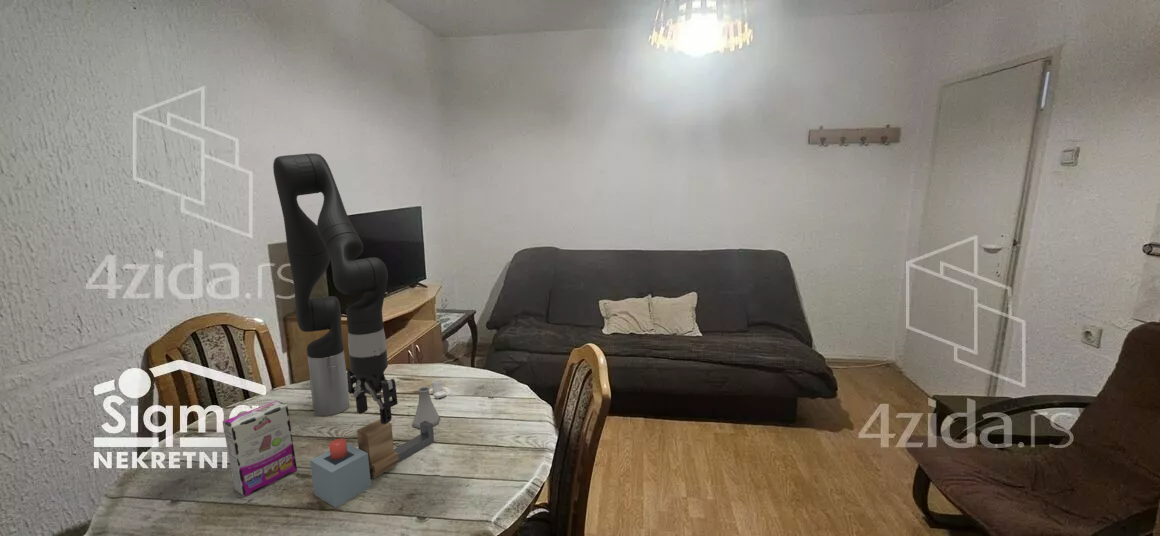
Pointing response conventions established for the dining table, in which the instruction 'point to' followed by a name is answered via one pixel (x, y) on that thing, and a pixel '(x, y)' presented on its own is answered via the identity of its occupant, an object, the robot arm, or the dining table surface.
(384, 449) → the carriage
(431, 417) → the flask
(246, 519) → the dining table surface
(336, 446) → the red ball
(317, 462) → the button housing
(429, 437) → the rail
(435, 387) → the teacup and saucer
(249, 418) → the candy bar box
